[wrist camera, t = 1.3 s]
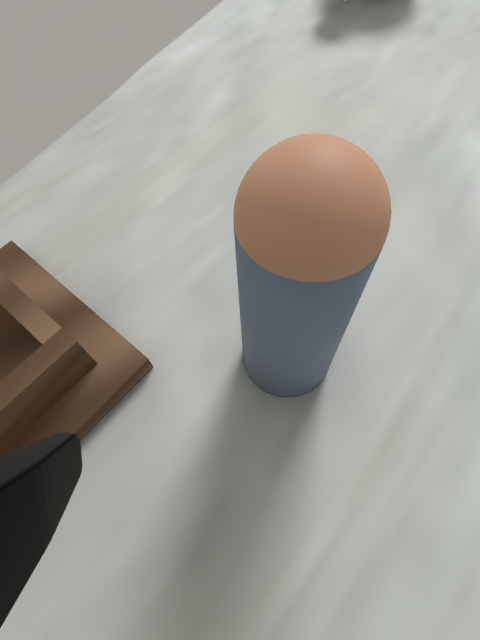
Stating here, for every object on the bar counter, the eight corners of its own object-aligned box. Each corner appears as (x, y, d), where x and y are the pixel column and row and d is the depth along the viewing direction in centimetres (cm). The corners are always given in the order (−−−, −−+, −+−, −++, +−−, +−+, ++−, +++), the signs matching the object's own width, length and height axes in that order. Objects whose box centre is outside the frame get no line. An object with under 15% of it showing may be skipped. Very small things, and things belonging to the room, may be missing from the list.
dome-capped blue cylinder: (346, 349, 24) (449, 145, 11) (294, 415, 23) (345, 262, 10) (278, 302, 26) (301, 75, 13) (225, 360, 24) (191, 166, 11)
